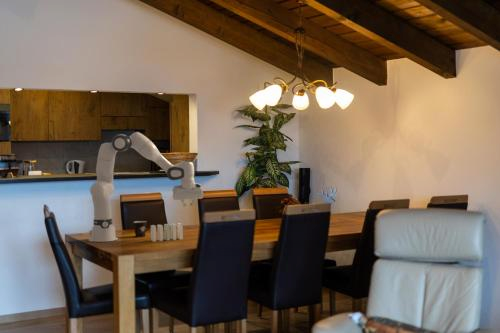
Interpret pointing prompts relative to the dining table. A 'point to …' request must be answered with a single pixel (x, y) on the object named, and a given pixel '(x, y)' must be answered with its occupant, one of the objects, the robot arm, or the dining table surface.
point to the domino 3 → (166, 232)
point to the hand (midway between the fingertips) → (188, 206)
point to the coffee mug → (140, 228)
